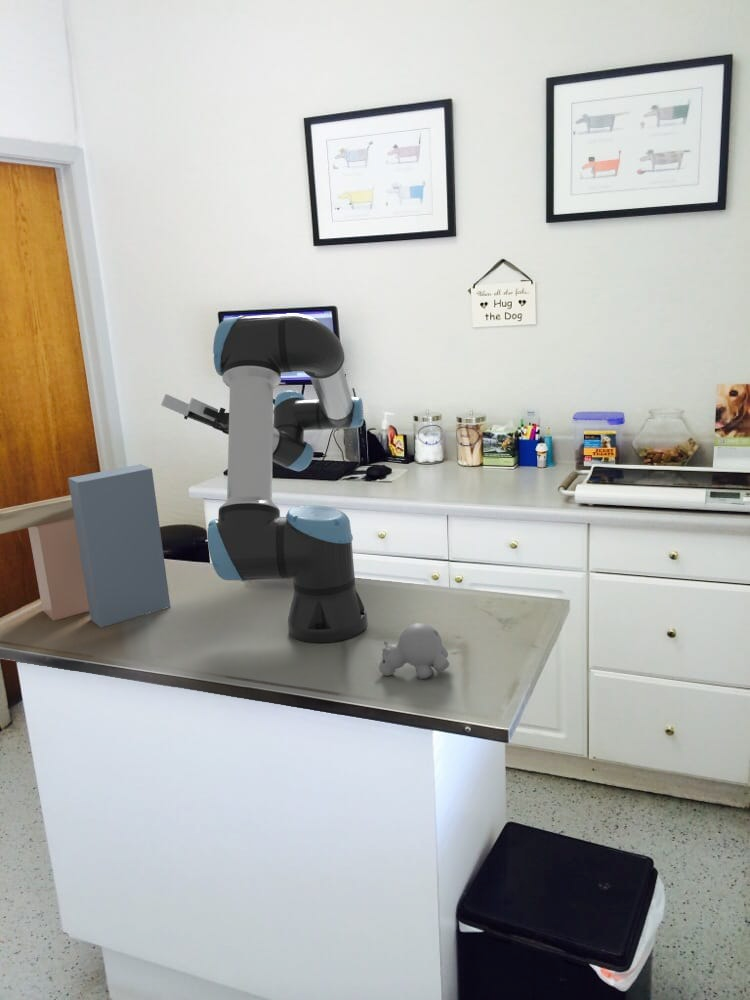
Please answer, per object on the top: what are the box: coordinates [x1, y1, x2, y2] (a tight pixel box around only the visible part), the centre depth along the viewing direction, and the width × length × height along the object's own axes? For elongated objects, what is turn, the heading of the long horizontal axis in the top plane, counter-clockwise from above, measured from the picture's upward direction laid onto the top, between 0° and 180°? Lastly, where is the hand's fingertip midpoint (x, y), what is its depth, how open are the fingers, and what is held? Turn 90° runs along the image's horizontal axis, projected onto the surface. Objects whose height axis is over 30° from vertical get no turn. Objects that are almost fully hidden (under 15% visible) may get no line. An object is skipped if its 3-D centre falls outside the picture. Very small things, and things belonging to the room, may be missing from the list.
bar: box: [0, 494, 74, 535], centre depth 179 cm, size 4×27×4 cm, turn 126°
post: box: [67, 463, 171, 628], centre depth 176 cm, size 6×15×30 cm, turn 127°
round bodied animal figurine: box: [373, 622, 450, 680], centre depth 144 cm, size 7×12×8 cm, turn 85°
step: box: [27, 518, 89, 622], centre depth 182 cm, size 8×10×20 cm
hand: (176, 401), depth 189 cm, fingers open, 13 cm apart
